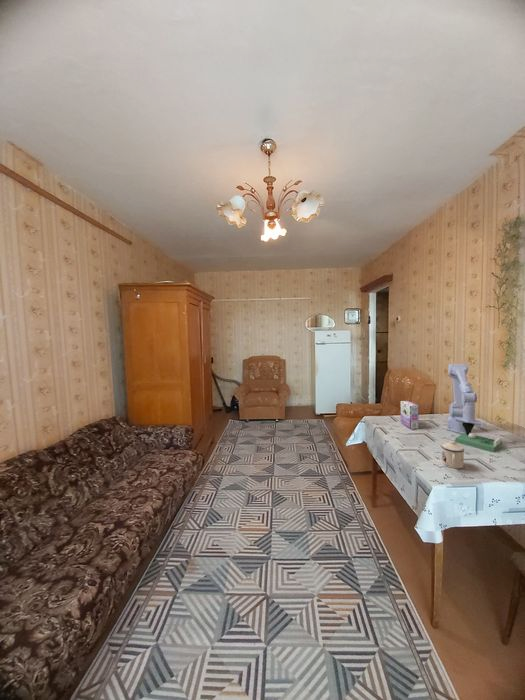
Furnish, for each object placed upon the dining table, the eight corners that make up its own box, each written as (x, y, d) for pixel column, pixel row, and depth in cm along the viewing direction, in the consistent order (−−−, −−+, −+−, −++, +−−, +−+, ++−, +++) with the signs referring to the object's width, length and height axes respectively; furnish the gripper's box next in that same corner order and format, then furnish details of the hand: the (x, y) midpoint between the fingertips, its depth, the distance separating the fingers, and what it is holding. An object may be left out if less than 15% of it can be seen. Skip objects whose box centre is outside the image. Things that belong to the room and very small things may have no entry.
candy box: (419, 429, 184) (418, 405, 183) (410, 429, 184) (410, 405, 184) (408, 422, 198) (408, 400, 197) (400, 423, 198) (400, 400, 197)
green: (455, 442, 161) (455, 434, 161) (464, 436, 169) (464, 428, 169) (495, 452, 146) (495, 443, 146) (503, 445, 154) (503, 437, 154)
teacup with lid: (441, 459, 141) (441, 436, 140) (463, 462, 136) (463, 439, 136) (442, 469, 131) (442, 445, 130) (465, 473, 126) (465, 448, 125)
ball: (465, 434, 161) (471, 432, 158) (468, 432, 163) (474, 430, 160) (469, 439, 160) (475, 438, 157) (471, 438, 162) (477, 436, 159)
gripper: (451, 411, 164) (451, 433, 165) (481, 416, 152) (481, 440, 153) (456, 409, 168) (456, 431, 169) (485, 414, 156) (485, 437, 157)
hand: (468, 435), depth 161 cm, fingers closed, pressing on ball
